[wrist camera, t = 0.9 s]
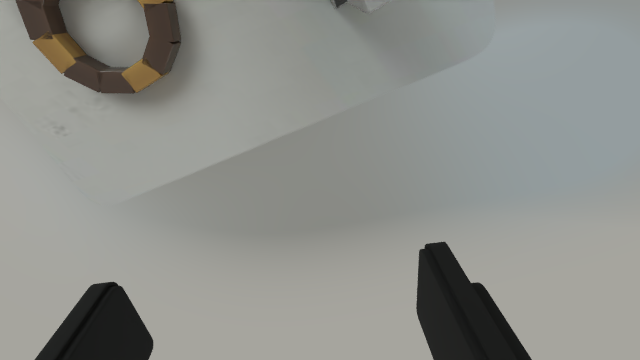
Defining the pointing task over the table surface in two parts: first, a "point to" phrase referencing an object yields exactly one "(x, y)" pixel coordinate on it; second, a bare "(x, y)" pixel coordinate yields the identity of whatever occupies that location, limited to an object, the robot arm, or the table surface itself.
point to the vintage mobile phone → (361, 4)
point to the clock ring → (65, 54)
